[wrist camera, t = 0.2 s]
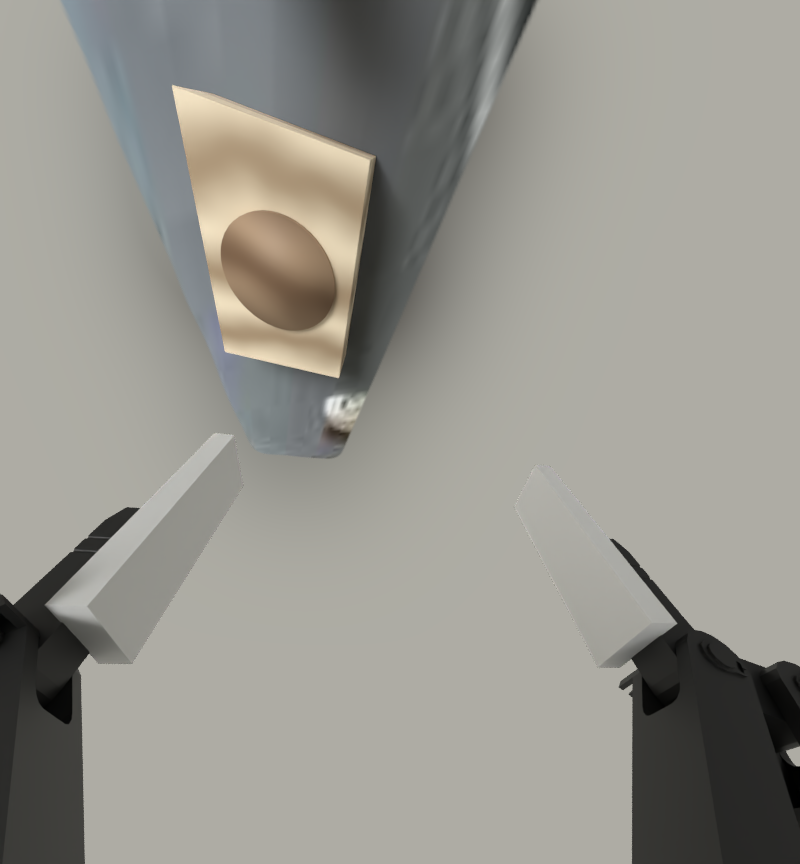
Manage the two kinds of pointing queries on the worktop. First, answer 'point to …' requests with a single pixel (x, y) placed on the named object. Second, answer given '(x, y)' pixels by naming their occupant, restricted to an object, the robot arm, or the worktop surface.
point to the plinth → (277, 229)
